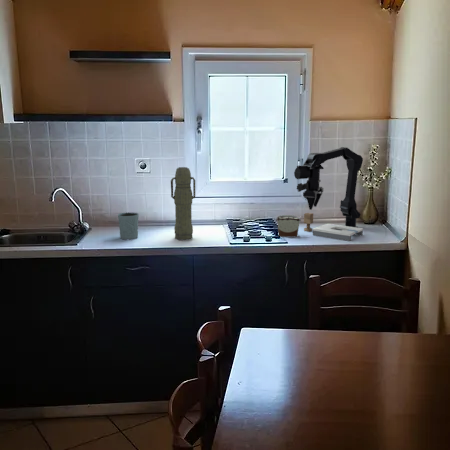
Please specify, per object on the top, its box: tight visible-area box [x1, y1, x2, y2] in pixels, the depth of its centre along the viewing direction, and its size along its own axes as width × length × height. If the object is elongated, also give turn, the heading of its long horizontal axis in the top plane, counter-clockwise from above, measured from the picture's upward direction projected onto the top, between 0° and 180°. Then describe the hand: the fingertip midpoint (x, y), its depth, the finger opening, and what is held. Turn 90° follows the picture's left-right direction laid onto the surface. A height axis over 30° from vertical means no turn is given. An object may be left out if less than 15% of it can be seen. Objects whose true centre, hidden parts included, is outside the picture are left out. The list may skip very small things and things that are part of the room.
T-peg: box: [303, 212, 314, 233], centre depth 280 cm, size 4×4×9 cm
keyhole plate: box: [312, 223, 364, 242], centre depth 271 cm, size 16×20×4 cm
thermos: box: [170, 166, 196, 241], centre depth 260 cm, size 9×12×35 cm
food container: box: [276, 214, 302, 238], centre depth 270 cm, size 12×6×10 cm, turn 84°
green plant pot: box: [117, 212, 140, 241], centre depth 263 cm, size 10×10×12 cm
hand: (312, 208), depth 275 cm, fingers open, 9 cm apart
